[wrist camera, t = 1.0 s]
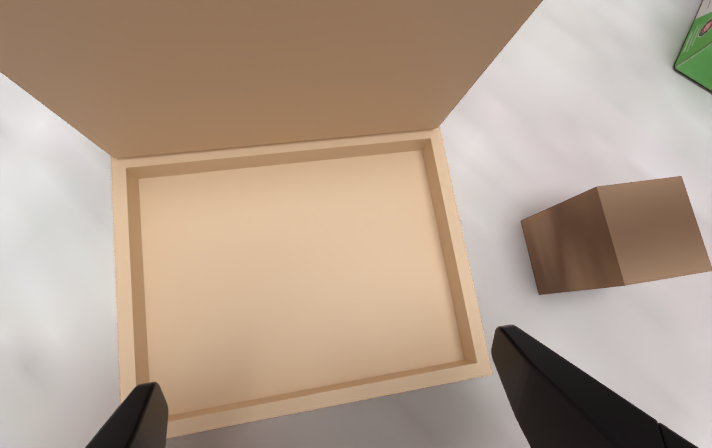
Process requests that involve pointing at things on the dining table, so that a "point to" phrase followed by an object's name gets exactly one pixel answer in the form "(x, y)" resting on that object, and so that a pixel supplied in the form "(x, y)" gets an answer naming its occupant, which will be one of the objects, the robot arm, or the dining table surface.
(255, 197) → the box
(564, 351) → the dining table surface
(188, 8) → the mailer lid
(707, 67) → the ink box
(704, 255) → the walnut block
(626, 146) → the dining table surface
